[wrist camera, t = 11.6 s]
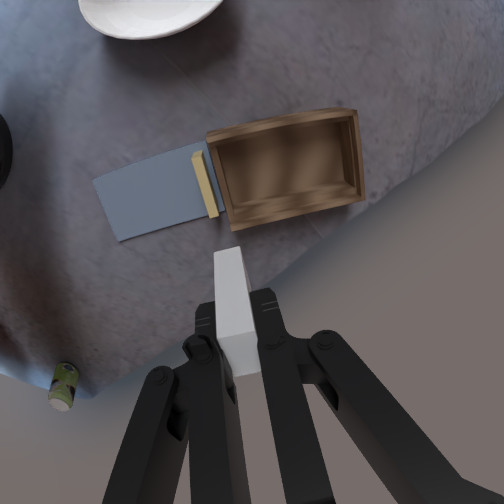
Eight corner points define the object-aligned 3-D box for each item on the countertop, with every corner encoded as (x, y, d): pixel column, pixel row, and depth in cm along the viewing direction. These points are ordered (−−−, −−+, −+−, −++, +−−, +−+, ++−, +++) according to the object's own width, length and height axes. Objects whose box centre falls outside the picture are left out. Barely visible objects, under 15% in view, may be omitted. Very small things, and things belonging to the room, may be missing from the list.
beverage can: (55, 366, 55) (41, 404, 45) (63, 354, 53) (48, 395, 42) (76, 378, 58) (65, 417, 47) (85, 368, 55) (73, 409, 45)
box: (229, 213, 41) (231, 231, 36) (207, 132, 35) (206, 138, 30) (347, 186, 41) (365, 200, 36) (338, 107, 35) (356, 109, 30)
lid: (119, 238, 42) (110, 255, 37) (94, 178, 36) (81, 189, 32) (225, 207, 41) (226, 222, 37) (205, 139, 36) (204, 145, 32)
